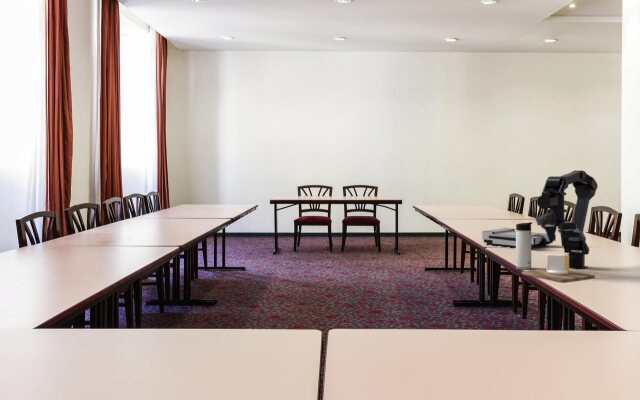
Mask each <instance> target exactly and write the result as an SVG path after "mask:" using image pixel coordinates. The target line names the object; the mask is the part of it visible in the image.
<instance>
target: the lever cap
mask: <svg viewBox="0 0 640 400" xmlns="http://www.w3.org/2000/svg"><path fill="white" fill-rule="evenodd" d="M545 261H546V263H545V264H546V265H545V266H546V268H545V269H547V273H548V274H553V275H566V274H568V271H569V270H570V268H569V255H568V253H563V254H561V253H546V260H545Z"/></svg>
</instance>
